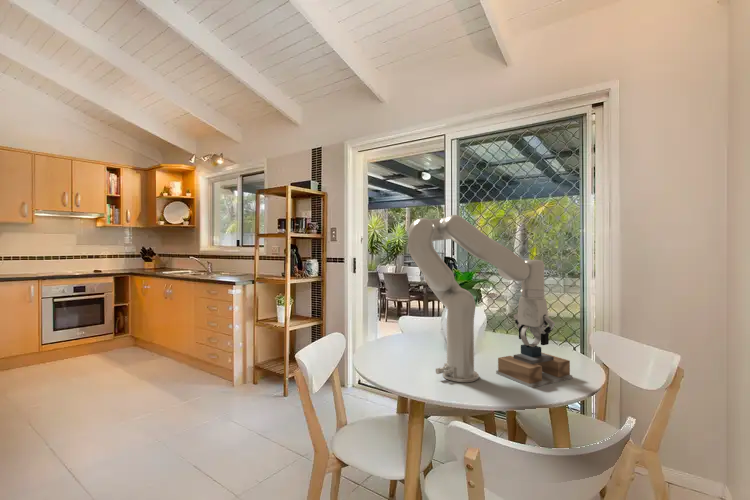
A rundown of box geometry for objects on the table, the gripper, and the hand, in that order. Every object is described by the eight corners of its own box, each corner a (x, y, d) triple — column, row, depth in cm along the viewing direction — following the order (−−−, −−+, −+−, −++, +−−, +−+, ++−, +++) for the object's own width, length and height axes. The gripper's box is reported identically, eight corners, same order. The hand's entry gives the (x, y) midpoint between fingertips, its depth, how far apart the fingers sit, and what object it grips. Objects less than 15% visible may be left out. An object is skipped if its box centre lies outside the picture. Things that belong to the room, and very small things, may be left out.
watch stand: (531, 387, 122) (531, 365, 122) (496, 373, 136) (496, 353, 136) (572, 378, 130) (572, 357, 131) (535, 365, 145) (535, 347, 145)
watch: (545, 355, 134) (545, 324, 134) (528, 357, 131) (527, 326, 131) (533, 351, 139) (533, 322, 139) (516, 353, 136) (516, 323, 136)
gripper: (507, 292, 140) (507, 337, 140) (545, 297, 124) (546, 348, 124) (521, 291, 143) (521, 335, 143) (561, 296, 127) (561, 345, 127)
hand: (533, 341), depth 133 cm, fingers open, 9 cm apart
